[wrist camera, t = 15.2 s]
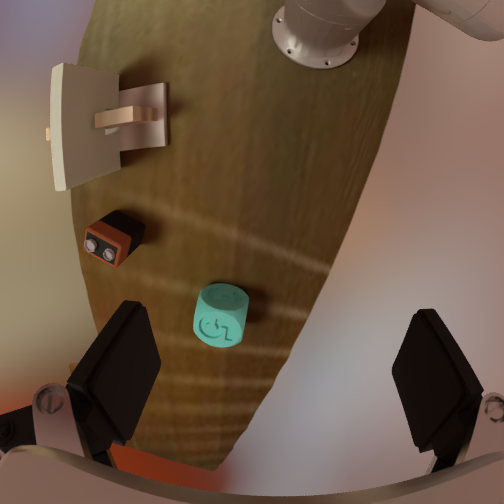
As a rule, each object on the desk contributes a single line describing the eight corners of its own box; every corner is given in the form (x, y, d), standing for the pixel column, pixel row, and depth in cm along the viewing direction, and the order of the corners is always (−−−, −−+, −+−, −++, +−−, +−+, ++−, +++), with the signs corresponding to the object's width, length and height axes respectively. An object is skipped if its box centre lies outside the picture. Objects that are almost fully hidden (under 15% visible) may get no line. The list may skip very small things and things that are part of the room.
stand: (166, 83, 35) (139, 74, 27) (167, 145, 39) (141, 151, 31) (75, 104, 36) (41, 105, 28) (78, 157, 40) (44, 167, 32)
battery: (114, 208, 44) (82, 228, 35) (146, 224, 45) (118, 248, 36) (109, 229, 46) (78, 252, 37) (140, 245, 47) (113, 272, 38)
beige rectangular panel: (119, 74, 33) (63, 62, 21) (120, 169, 40) (66, 190, 27) (109, 76, 33) (52, 67, 21) (110, 170, 40) (55, 191, 27)
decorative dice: (243, 322, 52) (239, 352, 45) (202, 314, 52) (192, 342, 45) (250, 287, 49) (246, 315, 41) (205, 279, 48) (194, 305, 41)
